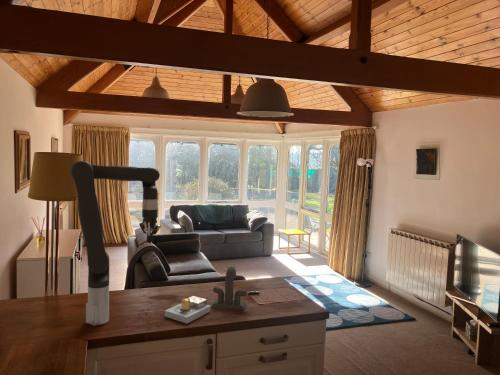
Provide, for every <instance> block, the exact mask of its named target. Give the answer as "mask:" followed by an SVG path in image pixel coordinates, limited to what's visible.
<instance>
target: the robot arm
mask: <svg viewBox="0 0 500 375" xmlns="http://www.w3.org/2000/svg"><path fill="white" fill-rule="evenodd" d="M69 176H70V177H71V178H72V179H73V181H74V184H75V187H76V192H77V213H78V218H79V219H78V220H79V224H80V228H81V232H82V237H83V238H84V242H85V247H86V256H87V267H88V268H87V269H88V271H87V272H88V274H87V275H88V278H87V302H86V303H85V324H89V325H92V326H93V327H95V326H100V325H104V324H107V323H108V322H109V321H110V256H109V254H108V253H107V251H106V248H105V244H104V231H103V230H104V228H103V218H102V214H101V208H100V205H99V200H98V197H97V193H96V188H95V180H110V181H122V182H141V184H142V202H141V206H142V207H141V217H142V221H141V222H139V227H140V229H141V232H143V235H144V234H145V236H146V243H147V244H152V243H153V241H154V235H157V233H158V232H159V230H160V229H161V224H158V217H159V202H158V198H159V197H158V188H157V186H156V182H157V181H158V180H159V179H160V176H161V175H160V171H159V170H158V169H157V168H155V167H150V166H149V167H137V166H131V165H130V166H129V165H99V164H93V163H90V162H88V161H84V160H79V161H75V162H73V163H72V164H71V166H70V168H69Z"/></svg>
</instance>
